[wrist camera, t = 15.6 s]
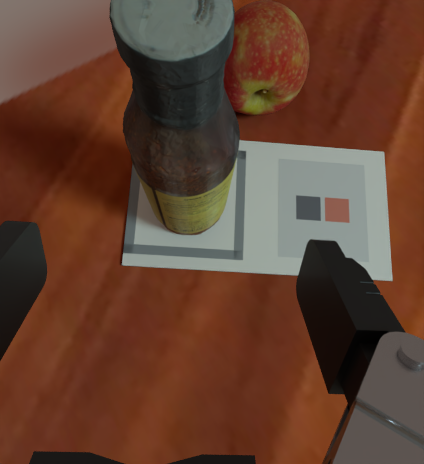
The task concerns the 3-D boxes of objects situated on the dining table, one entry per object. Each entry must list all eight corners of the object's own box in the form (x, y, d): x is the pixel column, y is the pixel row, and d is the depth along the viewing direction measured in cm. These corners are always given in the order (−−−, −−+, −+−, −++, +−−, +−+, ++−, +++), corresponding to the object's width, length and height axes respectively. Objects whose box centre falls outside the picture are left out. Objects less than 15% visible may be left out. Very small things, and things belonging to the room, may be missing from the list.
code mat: (122, 265, 29) (121, 265, 29) (136, 133, 32) (136, 131, 31) (391, 280, 30) (392, 280, 30) (382, 152, 33) (384, 151, 33)
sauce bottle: (237, 197, 31) (325, 6, 11) (194, 253, 29) (210, 143, 10) (178, 154, 31) (167, -101, 12) (133, 207, 30) (36, 16, 10)
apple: (208, 125, 32) (215, 67, 24) (211, 47, 34) (218, -30, 26) (293, 131, 33) (326, 75, 25) (291, 54, 35) (321, -21, 27)
